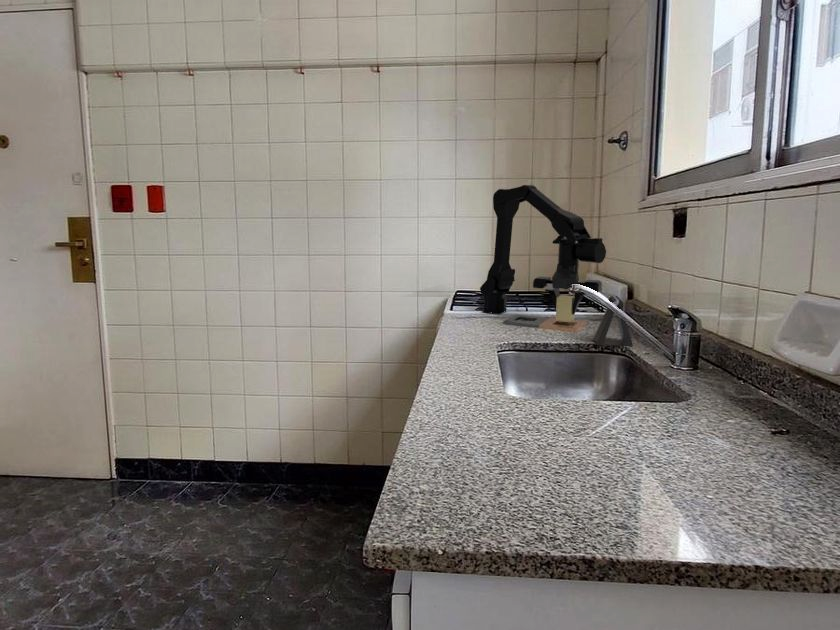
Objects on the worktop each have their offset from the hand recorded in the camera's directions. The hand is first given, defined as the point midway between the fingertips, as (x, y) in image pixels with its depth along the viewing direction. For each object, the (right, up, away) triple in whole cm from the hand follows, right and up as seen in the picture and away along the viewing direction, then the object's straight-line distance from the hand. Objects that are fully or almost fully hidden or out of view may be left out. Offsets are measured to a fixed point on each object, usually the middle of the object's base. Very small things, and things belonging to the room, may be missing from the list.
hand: (565, 313), depth 164 cm
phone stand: (+7, -8, -19) cm, 22 cm away
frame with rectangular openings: (-5, -3, +3) cm, 7 cm away
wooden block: (0, -2, 0) cm, 2 cm away
